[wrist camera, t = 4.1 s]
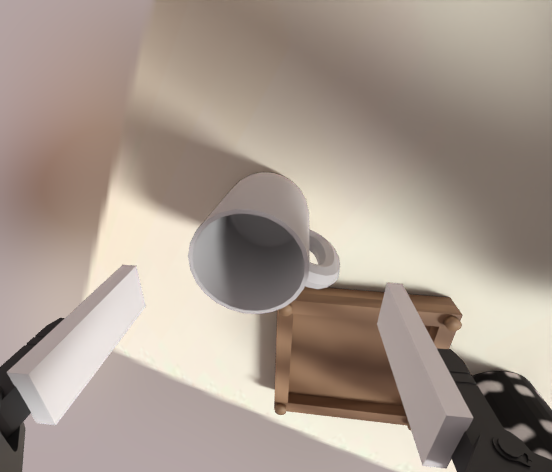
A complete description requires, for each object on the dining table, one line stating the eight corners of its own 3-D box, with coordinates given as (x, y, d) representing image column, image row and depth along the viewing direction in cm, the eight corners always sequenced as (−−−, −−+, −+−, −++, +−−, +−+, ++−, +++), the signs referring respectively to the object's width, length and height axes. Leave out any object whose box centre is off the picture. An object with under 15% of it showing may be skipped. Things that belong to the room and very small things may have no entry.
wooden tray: (279, 283, 28) (276, 303, 25) (450, 297, 26) (465, 320, 24) (276, 390, 35) (273, 414, 32) (410, 405, 33) (419, 432, 31)
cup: (242, 156, 23) (206, 187, 15) (354, 204, 24) (377, 259, 16) (217, 229, 26) (176, 288, 18) (316, 270, 27) (319, 344, 19)
